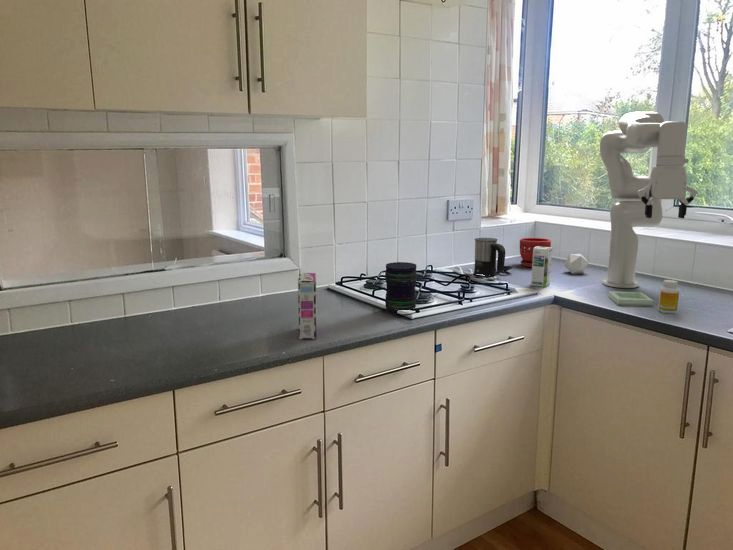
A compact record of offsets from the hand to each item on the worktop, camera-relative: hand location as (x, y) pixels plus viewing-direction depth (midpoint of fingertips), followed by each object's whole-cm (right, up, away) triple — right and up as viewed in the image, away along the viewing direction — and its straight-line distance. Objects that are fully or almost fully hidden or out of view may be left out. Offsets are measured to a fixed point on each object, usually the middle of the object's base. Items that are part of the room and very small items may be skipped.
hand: (664, 217), depth 180 cm
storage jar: (-83, -30, +2) cm, 88 cm away
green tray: (-5, -27, +13) cm, 30 cm away
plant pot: (-20, -14, +72) cm, 76 cm away
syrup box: (-28, -22, +37) cm, 51 cm away
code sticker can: (+1, -30, +1) cm, 30 cm away
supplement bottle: (+1, -30, +1) cm, 30 cm away
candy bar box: (-110, -35, -20) cm, 117 cm away
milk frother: (-42, -18, +56) cm, 72 cm away
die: (-7, -17, +58) cm, 60 cm away
